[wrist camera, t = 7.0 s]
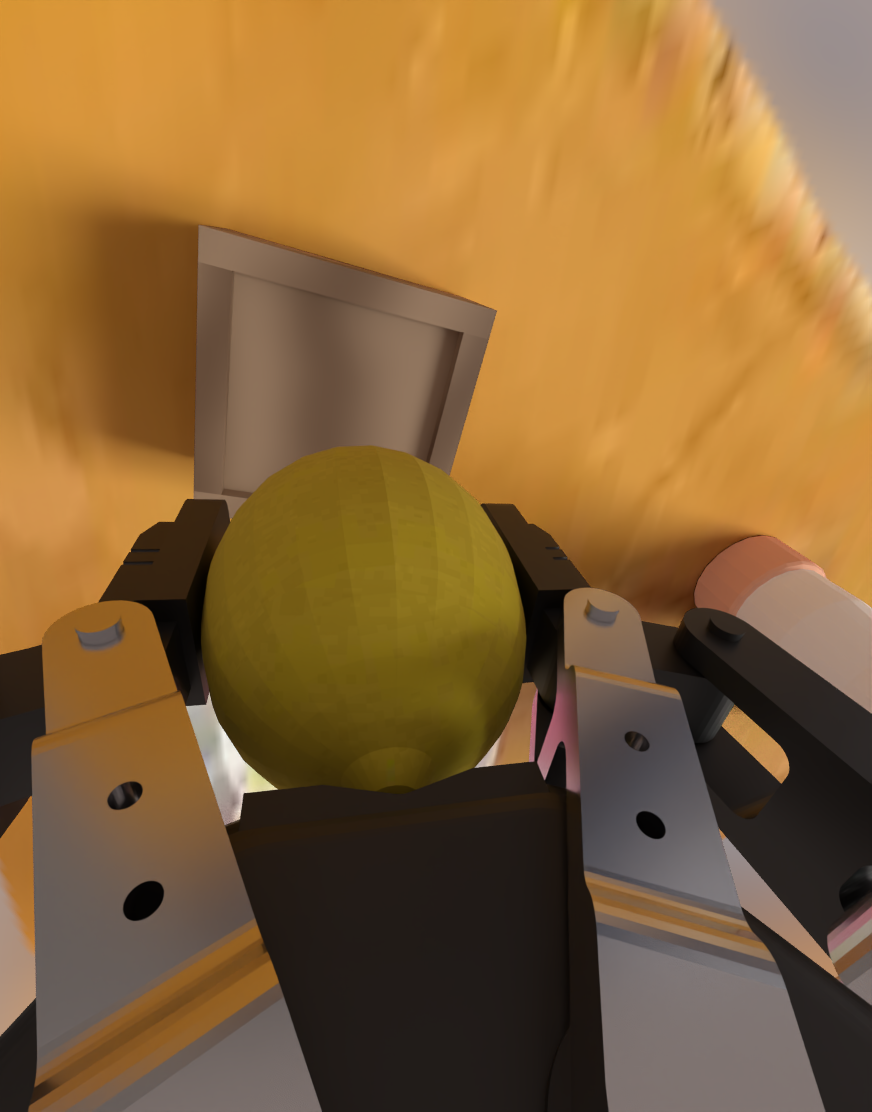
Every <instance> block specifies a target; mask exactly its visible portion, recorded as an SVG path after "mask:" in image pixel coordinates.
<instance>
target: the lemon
mask: <svg viewBox="0 0 872 1112" xmlns="http://www.w3.org/2000/svg"><path fill="white" fill-rule="evenodd" d="M201 647H202V657H203V663H204V668H205V673H206V678H207V682H208V687H209V692H210V696H211V701H212V705H213V708H214V711H215V713H216V716H217V719H218V722H219V723H220V725H221V726H222V728H223V729H224V731H225V732H226V734H227V736H228V737H229V739H230V740H231V742H232V743H233V745H234V746H235V748H236V749H237V751H238V752H239V754H240V756H241V757H242V759H243V760H244V761H245V762H246V763H247V764H248V765H249V766H251V767H252V768H253V769H254V770H255V771H256V772H257V773H258V774H260V775H261V776H262V777H263V778H265V779H266V780H267V781H268V782H269V783H271V784H272V785H273V786H274V787H276V788H277V789H288V788H298V787H307V786H316V785H329V786H337V787H345V788H353V789H361V790H369V791H376V792H384V793H392V794H404V793H408V792H411V791H414V790H417V789H419V788H422V787H424V786H427V785H430V784H432V783H435V782H437V781H440V780H443V779H445V778H448V777H450V776H453V775H456V774H458V773H461V772H463V771H466V770H469V769H471V768H474V767H475V766H476V765H477V764H478V763H479V762H480V761H481V760H482V759H483V757H484V756H485V755H486V754H487V752H488V751H489V750H490V749H491V747H492V746H493V745H494V743H495V742H496V741H497V739H498V738H499V737H500V735H501V734H502V732H503V730H504V728H505V726H506V725H507V723H508V721H509V719H510V716H511V714H512V711H513V709H514V707H515V704H516V702H517V699H518V697H519V693H520V690H521V686H522V683H523V674H524V661H525V649H526V625H525V617H524V610H523V605H522V601H521V597H520V593H519V589H518V585H517V581H516V577H515V573H514V569H513V565H512V562H511V559H510V556H509V553H508V551H507V548H506V546H505V544H504V542H503V540H502V539H501V537H500V535H499V534H498V532H497V531H496V529H495V527H494V526H493V524H492V523H491V521H490V519H489V518H488V516H487V514H486V513H485V511H484V510H483V508H482V507H481V505H480V504H479V503H478V502H477V501H476V499H475V498H474V497H473V496H472V495H471V494H469V493H468V492H467V491H466V490H465V489H464V488H463V487H461V486H460V485H459V484H458V483H457V482H456V481H455V480H453V479H452V478H451V477H450V476H449V475H448V474H446V473H445V472H444V471H443V470H441V469H439V468H437V467H435V466H433V465H431V464H429V463H427V462H425V461H423V460H421V459H419V458H417V457H415V456H412V455H410V454H408V453H406V452H402V451H397V450H392V449H387V448H383V447H378V446H373V445H368V446H345V447H335V448H331V449H328V450H324V451H321V452H317V453H314V454H311V455H307V456H304V457H302V458H300V459H298V460H297V461H295V462H293V463H291V464H290V465H288V466H286V467H285V468H283V469H281V470H279V471H278V472H276V473H274V474H273V475H271V476H270V477H268V478H267V479H266V480H265V481H264V482H263V483H262V484H261V485H260V486H259V487H258V488H257V490H256V491H255V492H254V493H253V494H252V495H251V496H250V497H249V498H248V499H247V500H246V501H245V502H244V503H243V504H242V505H241V506H240V508H239V509H238V510H237V511H236V513H235V515H234V516H233V518H232V520H231V522H230V524H229V526H228V528H227V530H226V532H225V534H224V535H223V537H222V539H221V541H220V543H219V545H218V547H217V549H216V551H215V554H214V556H213V559H212V561H211V564H210V568H209V573H208V577H207V584H206V591H205V597H204V604H203V611H202V620H201Z"/></svg>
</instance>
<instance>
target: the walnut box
mask: <svg viewBox="0 0 872 1112" xmlns="http://www.w3.org/2000/svg"><path fill="white" fill-rule="evenodd" d="M496 312H497V311H496V310H494V309H491V308H489V307H486V306H484V305H481V304H479V303H476V302H474V301H471V300H468V299H466V298H463V297H460V296H457V295H453V294H450V293H447V292H443V291H440V290H436V289H433V288H429V287H426V286H422V285H419V284H416V283H412V282H409V281H405V280H402V279H398V278H395V277H391V276H388V275H385V274H381V273H378V272H374V271H371V270H367V269H364V268H360V267H357V266H354V265H350V264H347V263H343V262H340V261H336V260H333V259H329V258H326V257H323V256H319V255H316V254H312V253H309V252H305V251H302V250H298V249H295V248H292V247H288V246H285V245H281V244H278V243H274V242H271V241H267V240H264V239H261V238H257V237H254V236H250V235H247V234H243V233H240V232H237V231H233V230H230V229H226V228H219V227H211V226H204V225H199V235H198V290H197V345H196V400H195V454H194V499H223V500H226V502H227V505H228V510H229V518H233V516H234V515H235V513H236V511H237V510H238V509H239V508H240V506H241V505H242V504H243V503H244V502H245V501H246V500H247V499H248V498H249V497H250V496H251V495H252V494H253V493H254V492H255V491H256V490H257V488H258V487H259V486H260V485H261V484H262V483H263V482H264V481H265V480H266V479H267V478H268V477H270V476H271V475H273V474H274V473H276V472H278V471H279V470H281V469H283V468H285V467H286V466H288V465H290V464H291V463H293V462H295V461H297V460H298V459H300V458H302V457H304V456H307V455H311V454H314V453H317V452H321V451H324V450H328V449H331V448H335V447H345V446H368V445H373V446H378V447H383V448H387V449H392V450H397V451H402V452H406V453H408V454H410V455H412V456H415V457H417V458H419V459H421V460H423V461H425V462H427V463H429V464H431V465H433V466H435V467H437V468H439V469H441V470H443V471H444V472H445V473H446V474H448V475H450V472H451V468H452V465H453V461H454V458H455V455H456V451H457V448H458V444H459V441H460V437H461V434H462V430H463V427H464V423H465V420H466V416H467V413H468V409H469V406H470V402H471V399H472V395H473V392H474V389H475V385H476V382H477V378H478V375H479V371H480V368H481V364H482V361H483V357H484V354H485V350H486V347H487V343H488V340H489V336H490V333H491V329H492V326H493V323H494V319H495V316H496Z"/></svg>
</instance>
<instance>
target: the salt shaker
mask: <svg viewBox="0 0 872 1112" xmlns="http://www.w3.org/2000/svg"><path fill="white" fill-rule="evenodd" d="M694 597H695V604H696V606H697V608H711V609H716V610H720V611H723V612H726V613H729V614H731V615H734V616H736V617H738V618H740V619H742V620H743V621H745V622H747V623H748V624H750V625H751V626H752V627H754V628H755V629H757V630H758V631H759V632H761V633H762V634H763V635H765V636H766V637H768V638H769V639H770V640H772V641H773V642H774V643H776V644H777V645H778V646H780V647H781V648H783V649H784V650H785V651H787V652H788V653H789V654H791V655H792V656H794V657H795V658H796V659H798V660H799V661H800V662H802V663H803V664H804V665H806V666H807V667H809V668H810V669H811V670H813V671H814V672H815V673H817V674H818V675H820V676H821V677H822V678H824V679H825V680H826V681H828V682H829V683H831V684H832V685H833V686H835V687H836V688H837V689H839V690H840V691H841V692H843V693H844V694H846V695H847V696H848V697H850V698H851V699H852V700H854V701H855V702H857V703H858V704H859V705H861V706H862V707H863V708H865V709H866V710H867V711H869V712H870V713H872V608H871V607H870V606H868V605H867V604H866V603H864V602H863V601H861V600H860V599H858V598H857V597H855V596H853V595H852V594H850V593H849V592H847V591H845V590H844V589H842V588H841V587H839V586H837V585H836V584H834V583H833V582H831V581H829V580H828V579H826V576H825V573H824V571H823V569H822V568H820V567H819V566H818V565H816V564H815V563H814V562H812V561H811V560H809V559H808V558H806V557H804V556H803V555H801V554H800V553H798V552H797V551H795V550H794V549H792V548H791V547H789V546H788V545H786V544H785V543H783V542H781V541H780V540H778V539H777V538H775V537H769V536H764V535H763V536H757V537H750V538H747V539H745V540H742V541H740V542H737V543H735V544H733V545H731V546H730V547H729V548H727V549H726V550H724V551H723V552H721V553H720V554H718V555H717V556H716V557H715V558H714V560H713V561H712V562H711V563H710V564H709V565H708V566H707V567H706V568H705V570H704V571H703V573H702V575H701V576H700V578H699V579H698V582H697V585H696V589H695V592H694Z"/></svg>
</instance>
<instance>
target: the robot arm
mask: <svg viewBox="0 0 872 1112" xmlns="http://www.w3.org/2000/svg"><path fill="white" fill-rule="evenodd" d="M481 507H482V508H483V510H484V511H485V513H486V514H487V516H488V518H489V519H490V521H491V523H492V524H493V526H494V527H495V529H496V531H497V532H498V534H499V535H500V537H501V539H502V540H503V542H504V544H505V546H506V548H507V551H508V553H509V556H510V559H511V562H512V565H513V569H514V573H515V577H516V581H517V585H518V589H519V593H520V597H521V601H522V605H523V610H524V617H525V625H526V649H525V661H524V674H523V683H528V682H534V683H535V685H536V687H537V690H536V694H535V697H534V700H533V706H532V723H531V739H530V756H529V762H524V763H515V764H506V765H497V766H488V767H479V768H471V769H469V770H466V771H463V772H461V773H458V774H456V775H453V776H450V777H448V778H445V779H443V780H440V781H437V782H435V783H432V784H430V785H427V786H424V787H422V788H419V789H417V790H414V791H411V792H408V793H404V794H392V793H384V792H376V791H369V790H361V789H353V788H345V787H337V786H329V785H316V786H307V787H298V788H288V789H279V790H270V791H261V792H252V793H244V795H243V802H242V810H241V817H240V820H237V821H235V822H232V823H229V824H227V825H224V822H223V819H222V816H221V813H220V810H219V807H218V803H217V800H216V797H215V794H214V791H213V788H212V785H211V782H210V779H209V776H208V773H207V770H206V767H205V764H204V761H203V758H202V755H201V752H200V749H199V745H198V742H197V739H196V736H195V733H194V730H193V727H192V724H191V721H190V718H189V715H188V712H187V709H186V706H193V705H206V703H207V699H208V695H209V687H208V682H207V678H206V673H205V668H204V663H203V657H202V647H201V620H202V611H203V604H204V597H205V591H206V584H207V577H208V573H209V568H210V564H211V561H212V559H213V556H214V554H215V551H216V549H217V547H218V545H219V543H220V541H221V539H222V537H223V535H224V534H225V532H226V530H227V528H228V526H229V524H230V518H229V510H228V505H227V502H226V500H223V499H187V500H186V501H185V502H184V504H183V506H182V508H181V510H180V512H179V514H178V516H177V518H176V520H175V522H158V523H157V524H155V525H154V526H152V527H151V528H149V529H148V530H146V531H145V532H143V533H142V534H140V535H139V537H138V539H137V540H136V542H135V543H134V545H133V547H132V548H131V552H129V553H128V555H127V556H126V558H125V560H124V561H123V565H121V566H120V568H119V569H118V571H117V573H116V574H115V576H114V578H113V579H112V581H111V583H110V584H109V586H108V587H107V589H106V591H105V592H104V594H103V596H102V597H101V599H100V600H99V602H98V603H94V604H91V605H87V606H84V607H81V608H78V609H76V610H74V611H72V612H70V613H68V614H66V615H64V616H63V617H61V618H60V619H58V620H57V621H55V622H54V623H53V624H52V625H51V626H50V627H49V628H48V629H47V631H46V632H45V634H44V636H43V638H42V645H39V646H36V647H32V648H28V649H24V650H20V651H15V652H11V653H6V654H2V655H0V838H1V837H2V835H3V834H4V832H5V831H6V830H7V828H8V827H9V826H10V824H11V823H12V821H13V820H14V819H15V817H16V816H17V815H18V813H19V812H20V811H21V809H22V808H23V806H24V805H25V804H26V802H27V800H28V799H29V797H30V796H32V811H33V863H34V914H35V963H36V964H35V966H36V998H35V999H34V1001H33V1002H32V1003H31V1004H30V1005H29V1006H28V1007H27V1008H26V1009H25V1010H24V1011H23V1013H21V1015H20V1016H19V1017H18V1018H17V1019H16V1020H15V1021H14V1022H13V1023H12V1024H11V1026H9V1028H8V1029H7V1030H6V1031H5V1032H4V1033H3V1034H2V1035H1V1036H0V1112H872V713H870V712H869V711H867V710H866V709H865V708H863V707H862V706H861V705H859V704H858V703H857V702H855V701H854V700H852V699H851V698H850V697H848V696H847V695H846V694H844V693H843V692H841V691H840V690H839V689H837V688H836V687H835V686H833V685H832V684H831V683H829V682H828V681H826V680H825V679H824V678H822V677H821V676H820V675H818V674H817V673H815V672H814V671H813V670H811V669H810V668H809V667H807V666H806V665H804V664H803V663H802V662H800V661H799V660H798V659H796V658H795V657H794V656H792V655H791V654H789V653H788V652H787V651H785V650H784V649H783V648H781V647H780V646H778V645H777V644H776V643H774V642H773V641H772V640H770V639H769V638H768V637H766V636H765V635H763V634H762V633H761V632H759V631H758V630H757V629H755V628H754V627H752V626H751V625H750V624H748V623H747V622H745V621H743V620H742V619H740V618H738V617H736V616H734V615H731V614H729V613H726V612H723V611H720V610H716V609H711V608H694V609H691V610H689V611H687V612H686V613H685V615H684V617H683V619H682V621H681V624H680V626H679V628H676V627H671V626H665V625H660V624H654V623H648V622H643V621H641V619H640V616H639V613H638V612H637V610H636V609H635V608H634V607H633V606H632V605H631V604H630V603H629V602H628V601H626V600H625V599H623V598H621V597H620V596H618V595H616V594H613V593H611V592H608V591H605V590H601V589H596V588H591V587H590V586H589V584H588V583H587V582H586V580H585V579H584V578H583V577H582V575H581V574H580V573H579V571H578V570H577V569H576V568H575V566H574V565H573V564H572V562H571V561H570V560H567V556H566V555H565V553H564V552H563V551H562V550H561V549H559V546H558V544H557V543H556V542H555V541H554V539H553V538H552V537H551V535H550V534H548V533H547V532H545V531H544V530H542V529H540V528H539V527H537V526H536V525H534V524H528V523H527V522H526V520H525V519H524V518H523V516H522V515H521V514H520V512H519V511H518V509H517V508H516V507H515V506H514V505H513V504H481ZM734 704H735V705H736V706H737V707H738V708H739V709H741V710H742V711H743V712H744V713H745V714H746V715H747V716H748V717H749V718H751V719H752V720H753V721H754V722H755V723H756V724H757V725H758V726H759V727H761V728H762V729H763V730H764V731H765V732H766V733H767V734H768V735H769V736H771V737H772V738H773V739H774V740H775V741H776V742H777V743H778V744H779V745H780V746H781V747H782V749H783V750H784V752H785V753H786V756H787V758H788V761H789V774H788V776H787V777H786V779H785V780H784V781H783V783H782V784H781V783H780V782H779V781H778V780H777V779H776V778H775V777H774V776H773V775H772V774H771V773H770V772H769V771H767V770H766V769H765V768H764V767H763V766H762V765H761V764H760V763H759V762H758V761H757V760H756V759H755V758H754V757H753V756H752V755H751V754H750V753H749V752H748V751H747V750H746V749H745V748H744V747H743V746H742V745H741V744H740V743H739V742H737V741H736V740H735V739H734V738H733V737H732V736H731V735H730V734H729V733H728V732H727V731H726V730H725V729H724V728H723V727H722V726H721V725H722V724H723V722H724V720H725V719H726V717H727V716H728V714H729V712H730V711H731V709H732V707H733V706H734ZM719 829H720V830H721V831H722V832H723V833H724V835H725V836H726V837H727V838H728V839H729V840H730V842H731V843H732V844H733V845H734V846H735V847H736V849H737V850H738V851H739V852H740V853H741V855H742V856H743V857H744V858H745V859H746V860H747V862H748V863H749V864H750V865H751V866H752V867H753V868H754V870H755V871H756V872H757V873H758V874H759V876H761V878H762V879H763V880H764V881H765V882H766V884H767V885H768V886H769V887H770V888H771V889H772V891H773V892H774V893H775V894H776V895H777V897H778V898H779V899H780V900H781V901H782V902H783V904H784V905H785V906H786V907H787V908H788V909H789V910H790V912H791V913H792V914H793V915H794V916H795V918H796V919H797V920H798V921H799V922H800V923H801V925H802V926H803V927H804V928H805V929H806V930H807V932H809V934H810V935H811V936H812V937H813V939H814V940H815V941H816V942H817V943H818V944H819V946H820V947H821V948H822V949H823V950H824V952H825V953H826V954H827V955H828V956H829V957H830V958H831V960H832V963H833V965H834V967H835V969H836V972H837V973H838V977H836V978H835V977H834V976H832V975H831V974H830V973H828V972H827V971H826V970H824V969H823V968H822V967H820V966H819V965H818V964H816V963H815V962H814V961H812V960H811V959H810V958H808V957H807V956H806V955H805V954H803V953H802V952H801V951H799V950H798V949H797V948H795V947H794V946H793V945H791V944H790V943H789V942H787V941H786V940H785V939H783V938H782V937H781V936H779V935H778V934H777V933H775V932H774V931H773V930H771V929H770V928H769V927H767V926H766V925H765V924H764V923H762V922H761V921H760V920H758V919H757V918H756V917H754V916H753V915H752V914H750V913H749V912H748V911H746V910H745V909H744V908H742V907H741V905H740V902H739V898H738V895H737V891H736V888H735V884H734V881H733V877H732V874H731V870H730V867H729V864H728V860H727V856H726V853H725V849H724V846H723V842H722V839H721V835H720V832H719Z"/></svg>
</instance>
